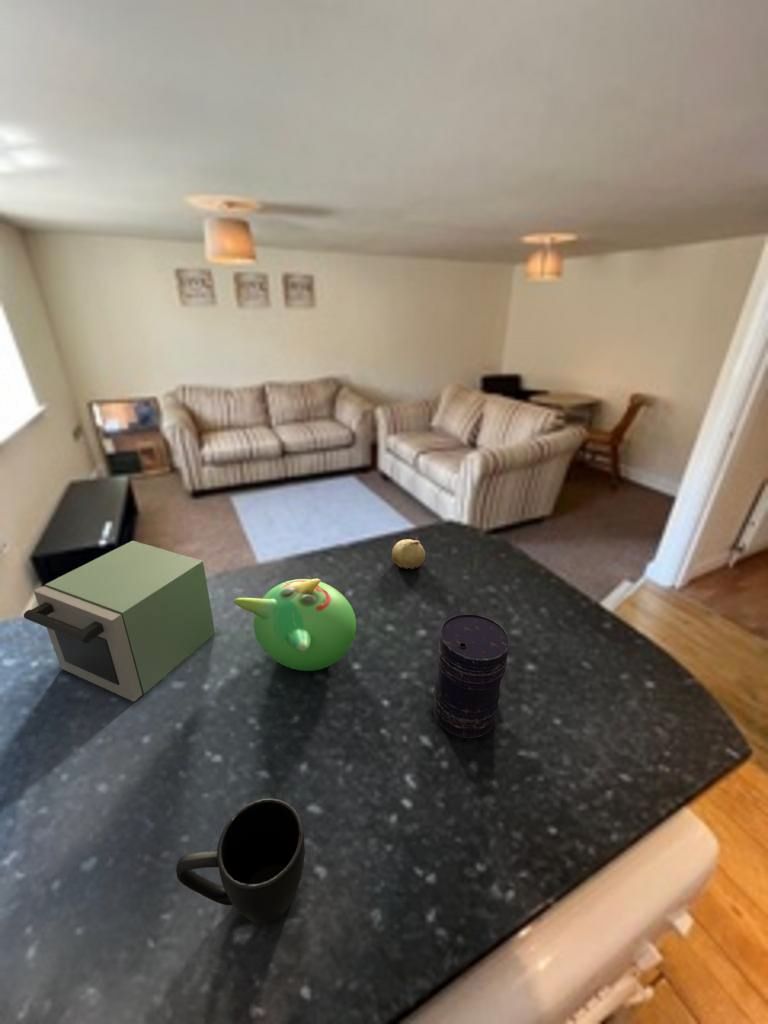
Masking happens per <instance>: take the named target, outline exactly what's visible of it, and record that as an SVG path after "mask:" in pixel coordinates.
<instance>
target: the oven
mask: <svg viewBox="0 0 768 1024" xmlns="http://www.w3.org/2000/svg"><path fill="white" fill-rule="evenodd" d="M44 586H46V587H48V588H51V589H54V590H57V591H59V592H62V593H65V594H67V595H70V596H73V597H75V598H78V599H81V600H83V601H86V602H89V603H92V604H94V605H97V606H100V607H102V608H105V609H108V610H110V611H113V612H116V613H119V614H121V615H122V619H123V623H124V626H125V630H126V634H127V638H128V642H129V645H130V649H131V653H132V657H133V661H134V664H135V668H136V672H137V676H138V680H139V683H140V687H141V691H142V695H145V694H146V693H148V691H150V690H151V689H152V688H154V687H155V686H156V685H157V684H158V683H159V682H160V681H161V680H162V679H164V678H165V677H166V676H167V675H169V674H170V673H171V672H172V671H173V670H174V669H175V668H176V667H178V666H179V665H180V664H181V663H182V662H184V661H185V660H186V659H187V658H188V657H189V656H191V655H192V654H193V653H194V652H195V651H197V650H198V649H200V647H201V646H202V645H204V644H205V643H206V642H207V641H208V640H210V638H212V637H213V636H214V635H215V634H216V631H215V624H214V618H213V611H212V606H211V600H210V595H209V587H208V581H207V576H206V570H205V565H204V561H203V560H201V559H198V558H194V557H191V556H187V555H184V554H180V553H177V552H173V551H170V550H166V549H163V548H161V547H156V546H153V545H150V544H145V543H142V542H140V541H139V542H138V541H136V540H131V541H129V542H127V543H125V544H123V545H120V546H119V547H117V548H115V549H113V550H111V551H109V552H106V553H105V554H102V555H100V556H99V557H96V558H94V559H93V560H91V561H89V562H87V563H85V564H83V565H81V566H79V567H77V568H75V569H72V570H71V571H69V572H67V573H65V574H63V575H61V576H58V577H57V578H55V579H53V580H51V581H48V582H47V583H45V584H44Z"/></svg>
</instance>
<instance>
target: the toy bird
mask: <svg viewBox="0 0 768 1024" xmlns="http://www.w3.org/2000/svg"><path fill="white" fill-rule="evenodd" d="M233 603H234V604H235V605H236V606H237V607H239V608H241V609H243V610H245V611H248V612H250V613H252V614H254V616H253V617H254V618H253V631H254V634H255V638H256V640H257V642H258V644H259V645H260V648H262V649H263V651H264V652H265V653H266V654H267V655H268V656H269V657H270V658H271V659H273V661H276V663H279V664H280V665H282V666H284V667H287V668H289V669H293V670H295V671H304V672H313V671H319V670H323V669H326V668H328V667H330V666H333V665H334V664H336V663H337V662H338V661H340V660H341V659H342V658H343V657H344V656H345V655H346V653H347V652H348V651H349V649H350V647H352V645H353V642H354V639H355V636H356V632H357V631H356V630H357V619H356V614H355V611H354V609H353V607H352V605H351V604H350V602H349V601H348V600H347V598H346V597H345V596H344V595H343V594H342V593H341V592H340V591H339V590H337V588H334V587H333V586H331V585H329V584H328V583H325V582H323V581H321V579H320V578H313V579H310V578H298V579H297V578H296V579H291V580H286V581H284V582H282V583H279V584H277V585H276V586H274V587H273V588H271V589H270V590H268V592H266V594H265V595H264V596H263V597H262V598H259V597H257V598H256V597H237V598H234V600H233Z"/></svg>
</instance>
